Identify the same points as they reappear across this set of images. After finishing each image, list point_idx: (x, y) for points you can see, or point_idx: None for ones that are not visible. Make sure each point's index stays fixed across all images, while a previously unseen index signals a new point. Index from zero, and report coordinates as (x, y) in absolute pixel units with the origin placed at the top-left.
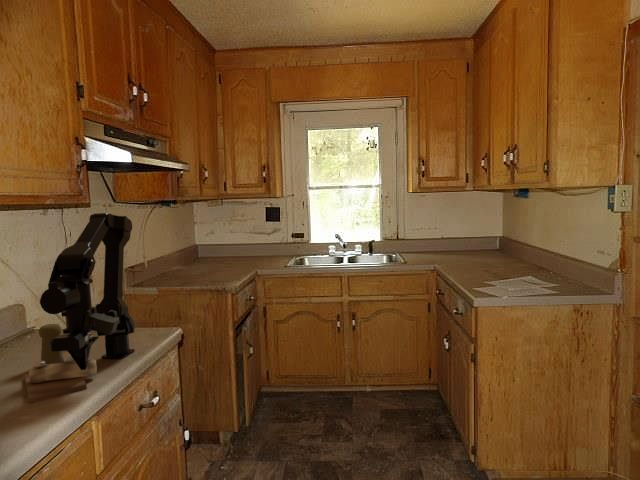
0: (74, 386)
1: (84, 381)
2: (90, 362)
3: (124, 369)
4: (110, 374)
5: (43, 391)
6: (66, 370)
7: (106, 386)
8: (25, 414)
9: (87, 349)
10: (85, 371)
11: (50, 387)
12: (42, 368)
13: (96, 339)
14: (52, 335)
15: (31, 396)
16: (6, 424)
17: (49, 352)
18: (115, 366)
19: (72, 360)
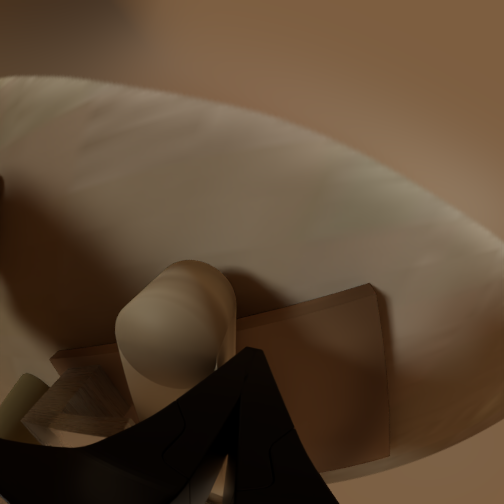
0: (371, 350)
1: (313, 314)
2: (188, 338)
3: (112, 110)
4: (165, 176)
5: (351, 441)
6: None
7: (385, 170)
8: (471, 415)
9: (246, 487)
10: (230, 338)
11: (316, 433)
12: (220, 500)
13: (5, 468)
14: None
15: (379, 454)
16: (492, 424)
17: (40, 444)
18: (58, 180)
19: (83, 403)
